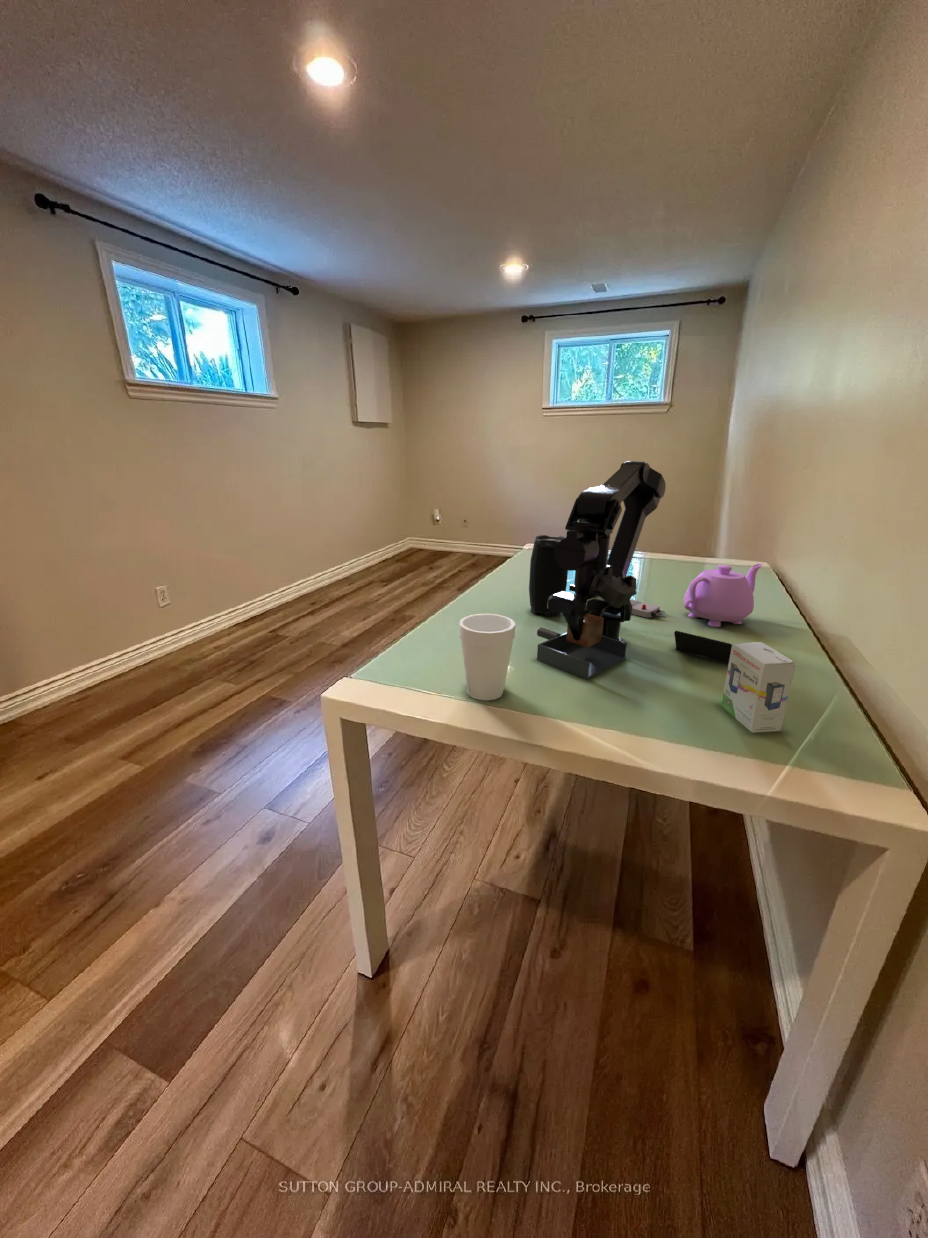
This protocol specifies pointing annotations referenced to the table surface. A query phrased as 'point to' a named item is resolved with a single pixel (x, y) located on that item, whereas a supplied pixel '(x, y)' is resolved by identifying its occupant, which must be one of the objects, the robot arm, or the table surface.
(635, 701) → the table surface
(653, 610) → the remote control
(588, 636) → the block
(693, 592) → the teapot
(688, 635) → the handheld gaming console
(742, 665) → the ink box
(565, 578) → the portable speaker
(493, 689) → the foam cup
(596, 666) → the tray
